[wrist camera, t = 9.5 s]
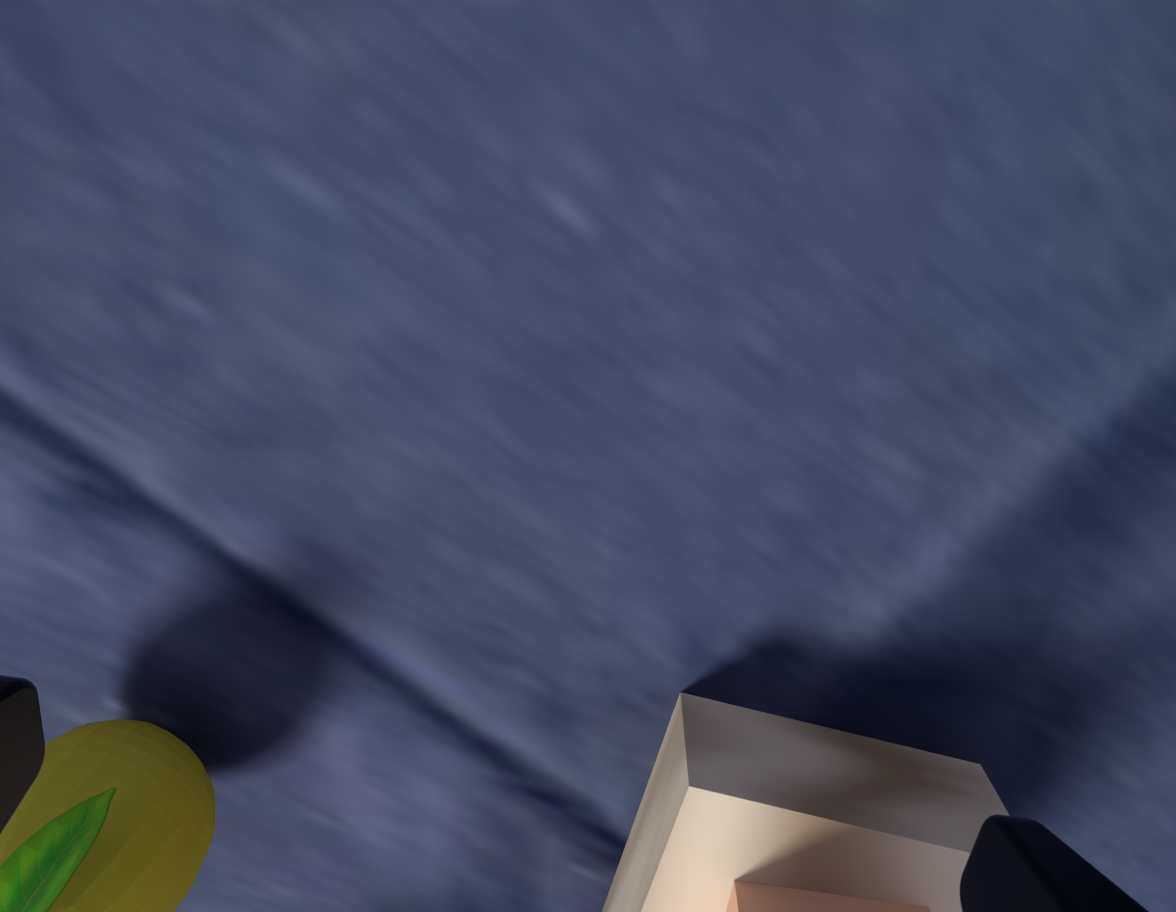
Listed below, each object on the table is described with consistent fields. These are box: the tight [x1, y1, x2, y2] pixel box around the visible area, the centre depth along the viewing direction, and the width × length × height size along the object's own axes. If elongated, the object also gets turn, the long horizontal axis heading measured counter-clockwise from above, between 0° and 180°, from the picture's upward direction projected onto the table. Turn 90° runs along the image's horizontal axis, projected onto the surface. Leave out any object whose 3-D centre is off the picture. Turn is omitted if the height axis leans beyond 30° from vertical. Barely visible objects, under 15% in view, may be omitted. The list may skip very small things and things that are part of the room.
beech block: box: [602, 692, 1010, 912], centre depth 23 cm, size 9×9×4 cm
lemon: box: [0, 719, 215, 912], centre depth 20 cm, size 7×6×10 cm
